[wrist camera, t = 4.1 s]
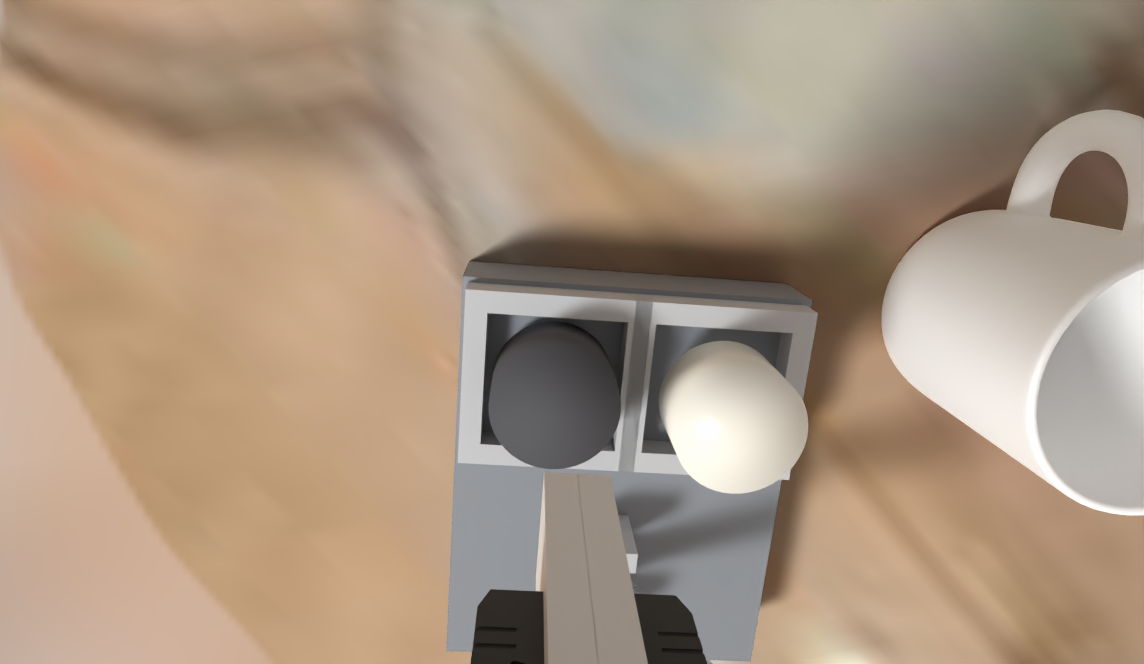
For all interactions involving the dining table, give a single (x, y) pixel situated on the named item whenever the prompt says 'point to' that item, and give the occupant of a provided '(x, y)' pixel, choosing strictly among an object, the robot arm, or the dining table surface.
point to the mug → (1038, 322)
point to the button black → (553, 396)
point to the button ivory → (732, 417)
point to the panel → (620, 440)
